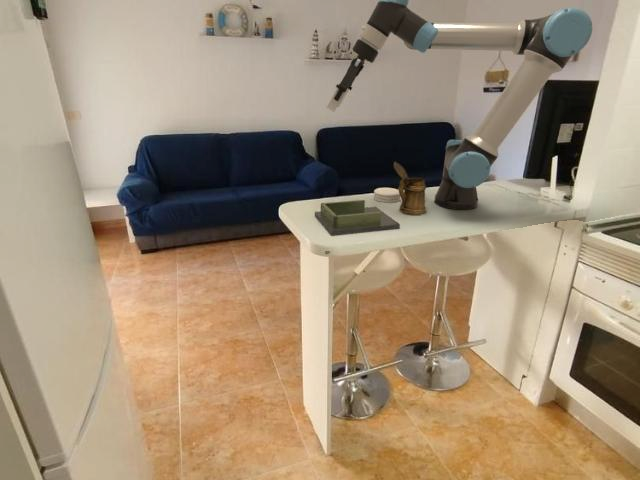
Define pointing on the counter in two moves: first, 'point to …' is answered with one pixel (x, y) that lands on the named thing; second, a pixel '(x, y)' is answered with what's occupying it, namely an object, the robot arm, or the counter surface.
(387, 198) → the coaster
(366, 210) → the green and grey tray
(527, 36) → the robot arm
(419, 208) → the wooden mug
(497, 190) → the counter surface
